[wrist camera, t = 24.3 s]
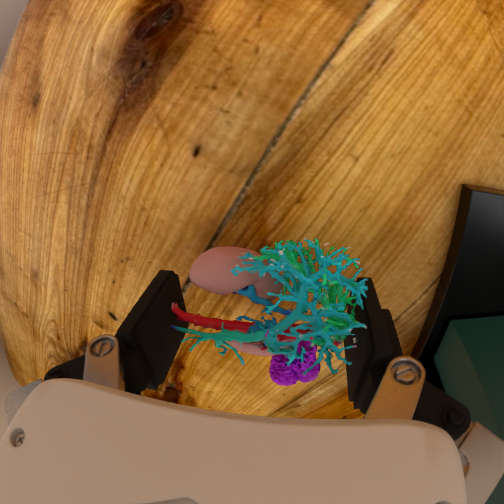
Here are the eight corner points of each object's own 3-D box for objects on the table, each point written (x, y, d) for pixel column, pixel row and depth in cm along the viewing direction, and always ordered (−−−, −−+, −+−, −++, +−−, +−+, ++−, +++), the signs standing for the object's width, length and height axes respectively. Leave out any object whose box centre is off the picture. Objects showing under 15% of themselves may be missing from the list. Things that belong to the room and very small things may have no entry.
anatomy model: (159, 407, 11) (311, 452, 9) (117, 248, 7) (392, 309, 6) (203, 334, 15) (326, 364, 14) (200, 191, 11) (372, 221, 10)
